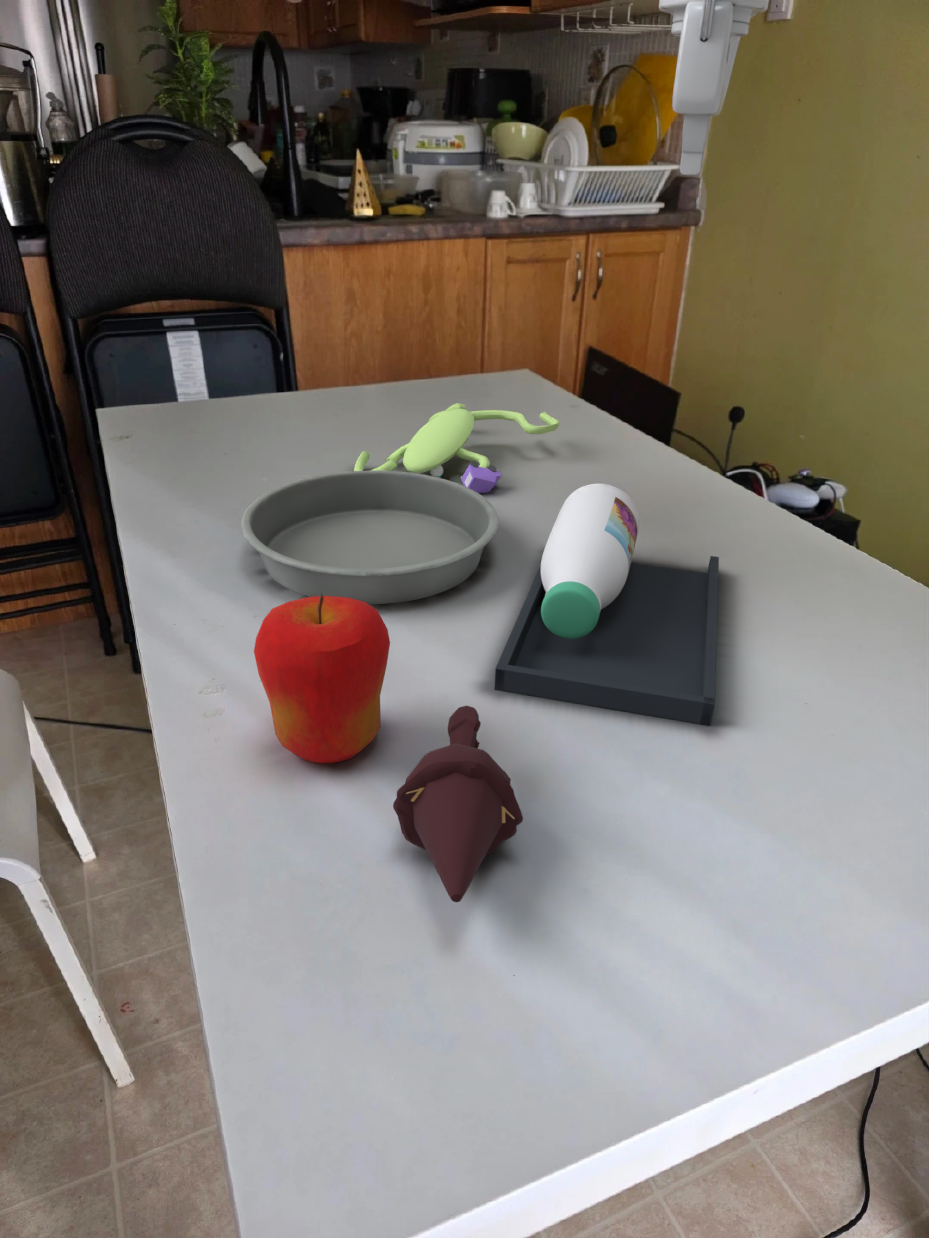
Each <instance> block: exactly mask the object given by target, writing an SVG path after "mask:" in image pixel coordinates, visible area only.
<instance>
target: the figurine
mask: <svg viewBox="0 0 929 1238" xmlns="http://www.w3.org/2000/svg"><path fill="white" fill-rule="evenodd" d="M484 420H485V421H487V420H505V421H512V422H516V423H518V424H519V426H520V428H521V429H522V430H523V432H524V433H527V434H529V435H543V434H547V433H551V432H554V431H556V430H557V429H558V428H559V426H560V420H558V419H556V418H554V417H552V416H550V414H549V413H547V411H542V412H541V413H540V414H539V420H540V421H542V422H543V423H545V424H546V425H535V424H532V423H529V421H528V420H527V418H526V417H525V415H524V414H523V413H520V412H517V411H511V410H504V409H503V410H500V409H493V410H492V409H488V410H474V411H473V410H472V411H469V410H468V409H467V407H466V405H465V404H463V403H459V402H457V403H453V404H451V405H450V406H449V407H447V408H446V409H445V410H442V411H438V412H436V413H434V414H433V415H432V416H431V417H430V418H429V419H428V421H427V422H426V423H425V424H424V425H423V426H422V427H421V428H420V429H418V431H417V432H416V433H415V434H414V436H413V437H412V438H411V440H410V441H409V443H406V444H404V445H401V447H399V448H398V449H396V450H395V451H394V452H392V454H390V455H389V456H388V457H387V458H385V461H386V462H384V463H383V464H382V465H380V466H378V467H375V468H372V470H378V471H394V470H395V469H396V468H397V467H398V463H397V462H399V461H400V460H401V459H402V458H403V459H402V464H403V465H404V467H405V469H406V470H407V471H408V472H409V473H417V474H423V473H424V472H429V474H430V476H434V477H438V478H442V475H443V474H444V467H443V466H442V465H443V464H445V463H446V462H448V461H449V460H451V459H452V458H453V457H454V456H456V457H457V458H459V459H462V460H466V461H470V462H469V464H468V466H467V467H466V470H465V472H464V473H463V475H461V476H460V480H461V482H462V485H463V486H465V487H468V488H470V489H472V490H474V491H475V492H477V493H479V494H488V493H490V492H491V491H492V489H494V488H495V486H496V485H497V483H498V482H499V480H500V479H501V477H502V473H501V471H500V470H497V466H495V465H493V464H491V463H490V462H491V461H490V459H489V458H488V457H487V456H485V455H483V454H480V453H476V452H473V451H471V450H467V449H465V448H463V447H464V445H465V444H466V443H467V441H468V440H469V438H470V436H471V433H472V431H473V428H474V426H475V421H484ZM370 456H371V455H370V452H368V451H366V450H363V451H362V452H361V453H360V454H359V456H358V458H357V460H356V462H355V464H354V468H353V471H364V470H365V467H366V465H367V462H368V461H369V459H370Z"/></svg>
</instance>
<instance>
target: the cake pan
mask: <svg viewBox="0 0 929 1238" xmlns="http://www.w3.org/2000/svg"><path fill="white" fill-rule="evenodd" d="M499 522H500V521H499V516H498V512H497V510H496V508H495V506H494V505H493V504H492V503H491V502H490V501H489V500H488V499H487V498H486V497H485V496H483V495H482V494H481V493H477V492H475V491H474V490H472V489H470V488H468V487H465V486H464V484H460V483H458V482H455V481H451V480H448V479H445V478H442V477H440V478H438V477H434V476H432V475H429V474H423V473H420V474H417V473H411V472H410V471H408V472H407V471H401V470H392V471H378V470H373V469H370V470H363V471H354V470H349V471H339V472H330V473H324V474H319V475H313V476H309V477H305V478H300V479H296V480H293V481H290V482H288V483H285V484H283V485H280V486H277V487H275V488H273V489H271V490H268V491H267V492H265V493H263V494H261V495H260V496H259V497H258V498H257V499H255V500H254V501H253V502H251V503H250V504H249V506H248V507H247V508H246V510H245V511H244V512H243V515H242V518H241V523H240V526H241V531H242V535H243V536H244V538H245V539H246V541H247V542H248V543H249V544H250V546H252V547H253V549H255V550H256V551H257V552H258V553H259V555H260V558H261V560H262V563H263V565H264V568H265V570H266V572H267V573H268V575H269V576H270V577H271V579H273V580H274V581H275V582H277V584H279V585H281V586H283V587H284V588H286V589H288V590H291V591H292V592H294V593H296V594H297V593H298V594H299V595H303V596H304V597H305V596H306V597H314V596H321V593H322V595H323V596H334V597H347V598H352V599H356V600H360V601H363V602H366V603H368V604H369V605H387V604H396V603H405V602H411V601H416V600H420V599H424V598H429V597H432V596H435V595H438V594H441V593H443V592H446V591H448V590H450V589H452V588H454V587H456V586H459V585H460V584H461V583H463V582H464V581H467V579H468V578H470V577H471V576H472V575H473V574H474V572H476V569H477V568H478V566H479V564H480V560H481V558H482V554H483V551H484V548H485V546H486V545H487V544H488V543H489V542H491V540H492V539H493V538H494V537H495V535H496V533H497V531H498V528H499V525H500V523H499Z"/></svg>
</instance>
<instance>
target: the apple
mask: <svg viewBox="0 0 929 1238" xmlns="http://www.w3.org/2000/svg"><path fill="white" fill-rule="evenodd" d="M388 629H389V628H388V627H387V625H386V624H385V621H384V620H383V618H382V616H381V614H380V612H379V610H378V609H376V608H375V607H373V606H372V604H368V603H366V602H363V601H360V600H356V599H352V598H347V597H334V596H323V595H322V593H321V596H314V597H309V596H306V597H302V598H299V599H295V600H290V601H286V602H285V603H282V604H280V605H278V606H275V607H273V608H271V610H270V611H269V612H268V613H267V615H266V616H265V617H264V619H263V620H262V622H261V625H260V628H259V629H258V632H257V635H256V637H255V642H254V648H253V654H254V659H255V665H256V668H257V674H258V676H259V679H260V681H261V684H262V686H263V689H264V692H265V695H266V697H267V699H268V703H269V706H270V707H269V708H270V712H271V719H272V723H273V728H274V734H275V737H277V740H278V741H279V743H280V744H281V746H282V747H283V748H285V749H286V750H288V751H289V752H290V753H292V754H294V755H296V756H297V757H299V758H301V759H303V760H304V761H306V762H311V763H315V764H322V765H323V764H337V763H340V762H344V761H347V760H350V759H352V758H353V757H354V756H357V755H358V754H359V753H360V752H362V751H363V750H364V749H365V748H366V747H368V745H369V744H370V743H371V742H373V741H374V739H375V738H376V736H377V735H378V732H379V731H380V729H381V727H382V726H381V725H382V724H381V722H382V721H381V693H382V690H383V689H382V688H383V684H384V680H385V675H386V672H387V671H386V670H387V667H388V660H389V652H390V647H391V641H390V635H389V630H388Z"/></svg>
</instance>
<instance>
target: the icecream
mask: <svg viewBox="0 0 929 1238" xmlns="http://www.w3.org/2000/svg"><path fill="white" fill-rule="evenodd" d="M479 718H480V715H479V713H478V711H477V709H476V708H475V707H473V706H469V705H463V706H460V707H458V708H457V709H456V710H455V711H454V712H453V713H452V714H451V716H449V718H448V724H447V734H448V738H449V745H446V746H443V747H440V748H435V749H433V750H430V751H428V752H427V753H426V754H424V755H423V756H422V758H421V759H420V760H419V762H418V763H416V766H414V768H413V769H412V771H411V772H410V773H409V774H408V776H407V777H406V779H405V782H404V783H403V785H401V786H400V787H399V788H398V789H397V790H396V798H395V799H394V801H393V805H392V807H393V811H394V812H395V814H396V815H397V819H398V822H399V826H400V830H401V834H402V835H403V837H404V838H405V840H406V841H407V842H408V843H411V844H412V845H414V846H416V847H418V848H420V849H422V850H424V851H426V853H427V855H428V856H429V858H430V860H431V862H432V864H433V867H434V869H435V870H436V872H437V874H438V876H439V879H440V881H441V883H442V885H443V887H444V890H445V892H446V893H447V895H448V897H449V899H450V900H451V901H452V902H453V903H454V902H455V903H459V902H461V901H462V900H463V898H464V897H465V895H466V893H467V891H468V889H469V888H470V886H471V883H472V882H473V879H474V878H475V876H476V873H477V872H478V870H479V868H480V866H481V864H482V863H483V861H484V859H485V857H486V856H488V855H490V854H492V853H493V852H494V851H496V849H497V848H498V847H500V845H502V844H503V843H504V842H506V841H508V840H509V839H511V838H512V837H514V836H515V835H516V833H517V831H518V830H517V829H518V826H519V825H520V824H521V823H523V821H524V816H523V812H522V810H521V807H520V805H519V802H518V800H517V798H516V795H515V791H514V789H513V787H512V785H511V781H512V779H511V777H510V776H509V775H508V774H507V773H506V771H505V770H503V769H502V767H501V766H500V765H499V764H498V763H497V761H495V760H494V758H493V757H492V756H491V755H490V754H489V753H488V752H487V751H485V750H484V749H482V748H479V746H480V742H479V740H478V739H477V734H478V732H479V730H480V728H481V723H482V722H481V721H480V719H479Z"/></svg>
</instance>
